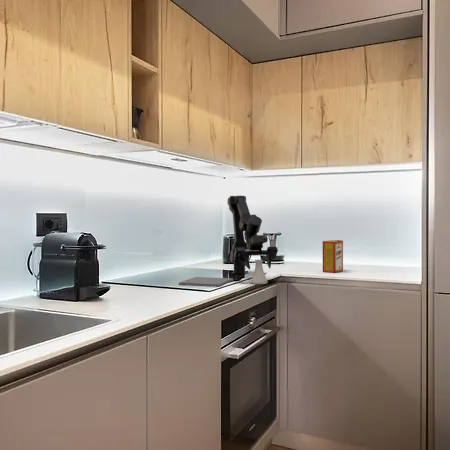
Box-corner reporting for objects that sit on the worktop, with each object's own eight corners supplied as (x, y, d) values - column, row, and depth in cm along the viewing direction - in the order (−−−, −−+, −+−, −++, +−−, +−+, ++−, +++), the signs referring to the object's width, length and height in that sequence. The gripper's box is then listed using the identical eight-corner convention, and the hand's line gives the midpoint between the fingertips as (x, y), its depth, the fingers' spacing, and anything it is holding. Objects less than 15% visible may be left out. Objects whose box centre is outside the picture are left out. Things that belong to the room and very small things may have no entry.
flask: (270, 283, 198) (270, 260, 198) (256, 285, 194) (256, 261, 194) (261, 281, 204) (261, 258, 204) (247, 283, 201) (247, 259, 201)
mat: (196, 279, 214) (196, 276, 214) (233, 280, 208) (233, 278, 208) (178, 284, 197) (178, 282, 197) (218, 286, 191) (218, 284, 191)
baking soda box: (334, 273, 230) (334, 240, 230) (322, 272, 234) (322, 240, 234) (342, 271, 238) (342, 239, 237) (331, 270, 242) (331, 239, 241)
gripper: (235, 228, 200) (242, 256, 190) (276, 228, 205) (285, 255, 194) (230, 245, 208) (237, 273, 198) (270, 244, 213) (279, 272, 202)
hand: (259, 268), depth 198 cm, fingers open, 9 cm apart
